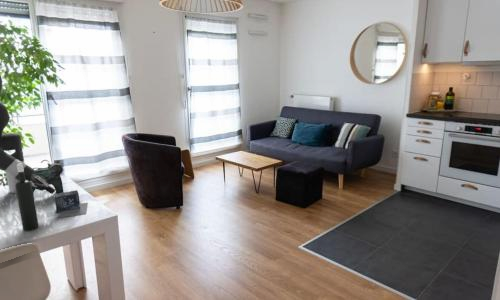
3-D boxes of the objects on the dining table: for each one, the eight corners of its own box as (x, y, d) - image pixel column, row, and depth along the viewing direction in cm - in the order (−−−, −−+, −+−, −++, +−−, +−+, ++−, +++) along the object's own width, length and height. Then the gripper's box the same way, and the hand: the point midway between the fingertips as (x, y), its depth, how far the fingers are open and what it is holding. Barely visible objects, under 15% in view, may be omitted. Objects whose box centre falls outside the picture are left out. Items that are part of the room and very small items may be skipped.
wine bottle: (37, 223, 151) (26, 161, 143) (39, 228, 147) (28, 164, 139) (22, 227, 147) (10, 163, 139) (24, 232, 143) (12, 166, 135)
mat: (62, 206, 169) (62, 205, 169) (87, 202, 173) (87, 202, 173) (57, 217, 157) (57, 217, 156) (85, 213, 161) (85, 213, 161)
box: (54, 198, 159) (78, 193, 165) (53, 194, 164) (77, 189, 169) (56, 212, 161) (80, 207, 167) (56, 208, 166) (79, 203, 172)
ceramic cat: (64, 189, 191) (59, 156, 186) (67, 192, 187) (63, 158, 182) (23, 198, 177) (17, 163, 172) (27, 202, 173) (20, 166, 168)
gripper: (22, 169, 147) (57, 191, 155) (29, 160, 159) (61, 181, 167) (10, 181, 147) (45, 203, 154) (17, 172, 159) (50, 192, 166)
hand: (53, 192), depth 160 cm, fingers closed
